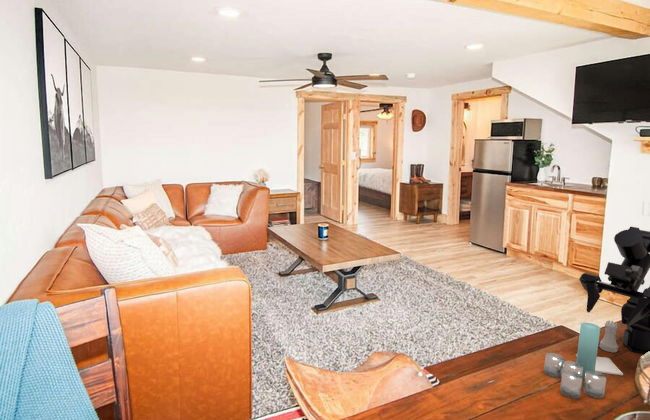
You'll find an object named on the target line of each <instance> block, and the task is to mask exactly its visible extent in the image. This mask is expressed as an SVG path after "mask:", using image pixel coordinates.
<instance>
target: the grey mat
mask: <svg viewBox="0 0 650 420" xmlns="http://www.w3.org/2000/svg"><path fill="white" fill-rule="evenodd" d="M575 357H576V358H577V353H576V354H575ZM595 371H597V372H600V373H602V374H607V375H608V374H610V375H616V376H624V373H623V372H622V371H621V370H620V369H619V368H618V367H617V366H616V364H615V363H614V362H613V361H612V360H611V358H609V357H604V356H603V357H601V356H597V358H596V366H595Z"/></svg>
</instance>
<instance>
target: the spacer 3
mask: <svg viewBox="0 0 650 420" xmlns="http://www.w3.org/2000/svg"><path fill="white" fill-rule="evenodd" d="M606 384H607V376H606V375H605V373H600V372H597V371H592V370H588V371H586V373H585V379H584V383H583V389H582V390H583V393H584V394H585V395H587V396H589V397H591V398H595V399H603V398H604V397H605V391H606Z"/></svg>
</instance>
